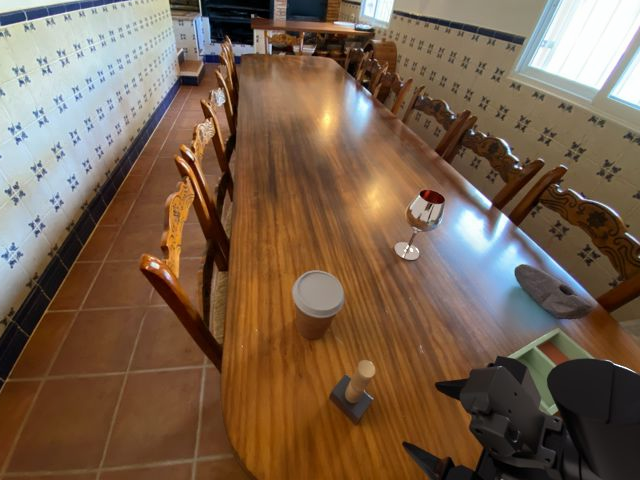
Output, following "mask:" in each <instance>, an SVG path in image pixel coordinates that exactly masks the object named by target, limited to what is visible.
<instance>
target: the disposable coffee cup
mask: <svg viewBox="0 0 640 480" xmlns="http://www.w3.org/2000/svg"><path fill="white" fill-rule="evenodd" d="M291 293H292V295H291V296H292V299H293V302H294V308H295V309H294V310H295V311H294V312H295V323H296V324H295V325H296V329H297V331H298V333H299V334H300V335H301V336H302V337H304V338H306V339H308V340H319V339H320V338H321V339H322V337H324V336H325V334H326V332H327V331H328V329H329V327H330V326H331V324H332V322H333V320H334V318H335V317H336V315H337V313H339V312H340V311H341V310H342V309H343V307H344V304H345V301H346V295H345V289H344V288H343V285H342V283H341V282H340V280H339V279H338V278H337V277H336V276H335V275H334V274H332V273H329V272H328V271H324V270H317V269H313V270H309V271H306V272H304V273H302V275H300V276H299V277H298V278H297V279H296V281H295V282H294V284H293V286H292V291H291Z"/></svg>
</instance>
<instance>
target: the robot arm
mask: <svg viewBox="0 0 640 480" xmlns="http://www.w3.org/2000/svg"><path fill="white" fill-rule="evenodd" d="M468 375H469V376H468V377H467V378H460V379H451V380H442V381H436V382H435V383H434V387H435V389H436V391H438V392H439V393H442V394H444V395H445V396H447V397H449V398H452V399H454V400H455V401H458V402H460V404H461V407H462V408H463V409H464V411H465V412H466V413H467V414H469V415H470V417H471V419H470V423H469V425H468V430H469V432H470V433H471V434H472V435H473V437H474V438H475V439H476V440H477V441H478V443H479V444H480V445H481V446H482V450H481V453H480V455H479V458H478V461H477V464H476V466H475V469H472V468H469V467H468V466H466V465H463V464H459V465H456V464H455V462H454V460H453V458H452V457H451V456H450V455H449V456H445V457H444V458H440V457H438V456H437V455H434V454H432V453H431V452H428V451H427V450H425V449H423V448H421V447H420V446H417V445H416V444H413V443H412V442H407V441H405V440H403V441H402V442H401V446H402V447H403V449H404V451H405V452H406V454H408V456H409V457H410V459H412V460H413V461H414V462H415V464H416V465H417V466H418V467H419V468H420V469H421V470H422V472H424V474H425V475H426V476H427V477H428V478H429V479H430V480H640V374H639V373H638V372H636V371H633V370H631V369H629V368H627V367H625V366H622V365H619V364H616V363H614V362H613V361H612V360H608V359H603V358H595V359H592V358H583V359H574V360H569V361H565V362H563V363H561V364H558V365H557V366H556V367H554V368H553V369H552V370H551V371H550V373H549V374H548V377H547V387H548V389H549V391H550V393H551V396H552V398H553V400H554V402H555V404H556V407H557V409H558V411H557V412H558V413H559V415H560V417H561V418H560V417H558V416H555V415H548V414H546V413H544V412H543V411H541V410H539V406H540V402H541V396H540V394H539V392H538V389H537V387H536V385H535V383H534V381H533V378H532V376H531V374H530V372H529V370H528V367H527V366H525V365H524V364H523V363H521V362H520V361H518V360H517V359H514V358H508V356H502V355H497V356H496V358H495V360H494V362H492V361H491V362H489V363H488V364H486V367H477V368H472V369H471V370H470V371H469V373H468Z"/></svg>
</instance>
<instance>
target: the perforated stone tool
mask: <svg viewBox="0 0 640 480" xmlns="http://www.w3.org/2000/svg"><path fill="white" fill-rule="evenodd" d="M514 277H515V279H516V282H517V283H518V285H519V286H520V287H521V288H522V290H524V291H525V292H526V293H527V294H528V296H529V297H530V298H531V299H533V301H535V303H537V304H538V306H540V308H542V309H543V310H545V311H547V312H549V313H550V314H551V315H552V316H553V317H554V318H555V319H556V320H579V319H583V318H585V317H588V316H589V314H590V313H592V312H593V311H594V308H593V307H592V305H591V304H589V303H588V301H586V300H585V299H584V298H583V297H582V296H581V295H579V294H578V292H576V291H575V290H573V289H572V288H571V287H570V286H568V285H567V284H566V283H564V282H562V281H561V280H559V279H558V278H557V277H554V276H553V275H551V274H549V273H548V272H546V271H545V270H542V269H541V268H538V267H537V266H534V265H530V264H527V263H525V264H524V263H521V264H519V265H517V266H515V268H514Z"/></svg>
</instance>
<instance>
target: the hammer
mask: <svg viewBox="0 0 640 480" xmlns="http://www.w3.org/2000/svg"><path fill="white" fill-rule="evenodd" d="M375 374H376V368H375V365H374V364H373V363H372V361H370V360H367V359H362V360H360V361H359V362H358V364H357V366H356V368H355V371H354V372H353V374H352V376H351V377H350V376H349V375H348V374H347V373H345V374H344V375H343V376H342V378H341V379H340V380H339V381H338V382H337V384H336V385H335V386H334V387H333V388H332V390H331V391H330V393H329V397H328V399H329V400H330V401H331V402H332V403H333V404H334V405H335V406H336V408H338V409H339V410H340V411H341V412H342V413H343V414H344V415H345V416H346V418H347V419H349V421H351V422H352V423H353V424H354V425H357V424H358V423H359V421H360V419H361V418H362V417H363V415H364V414H365V412H366V411H367V410H368V407H370V405H371V404H372V402H373V401H374V398H373V397H371V396H370V395H369V394H368V393H367V392H366V390H367V388H368V386H369V384H370V382H371V381H372V379H373V378H374V376H375Z"/></svg>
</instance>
